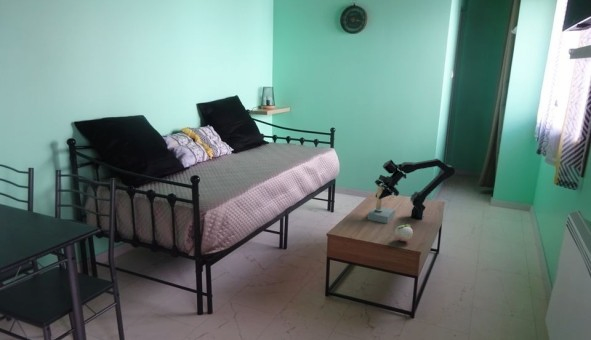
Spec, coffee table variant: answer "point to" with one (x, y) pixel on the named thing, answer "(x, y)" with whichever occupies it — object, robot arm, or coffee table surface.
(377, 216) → the hole block
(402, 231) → the decorative fruit
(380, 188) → the pin
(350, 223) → the coffee table surface
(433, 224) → the coffee table surface
